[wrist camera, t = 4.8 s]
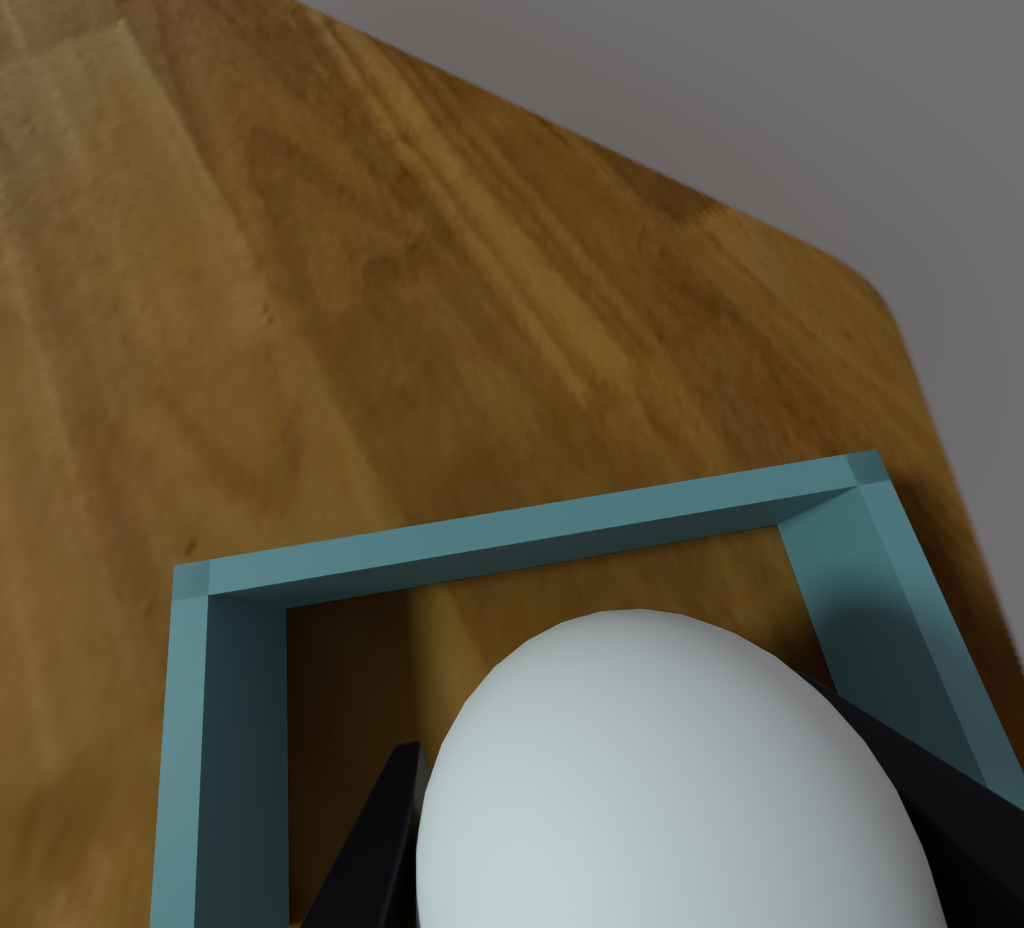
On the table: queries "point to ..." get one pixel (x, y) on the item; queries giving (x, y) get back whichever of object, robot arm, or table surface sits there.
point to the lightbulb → (661, 793)
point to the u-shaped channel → (515, 545)
